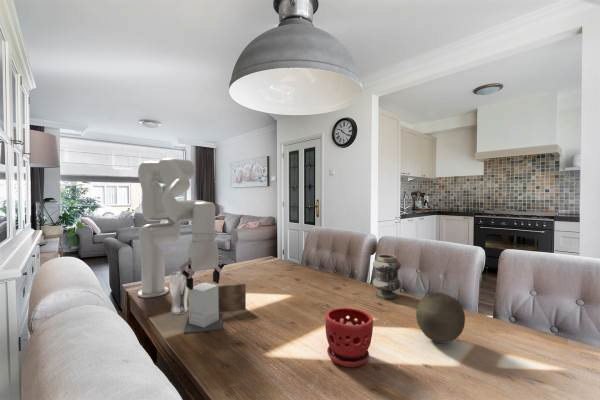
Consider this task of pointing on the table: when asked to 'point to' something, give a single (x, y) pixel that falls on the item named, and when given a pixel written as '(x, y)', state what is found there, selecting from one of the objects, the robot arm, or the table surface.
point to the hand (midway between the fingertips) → (203, 285)
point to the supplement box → (203, 304)
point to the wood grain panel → (232, 297)
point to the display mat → (214, 326)
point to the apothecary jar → (386, 276)
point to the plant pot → (348, 336)
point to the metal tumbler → (178, 293)
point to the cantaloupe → (440, 317)
